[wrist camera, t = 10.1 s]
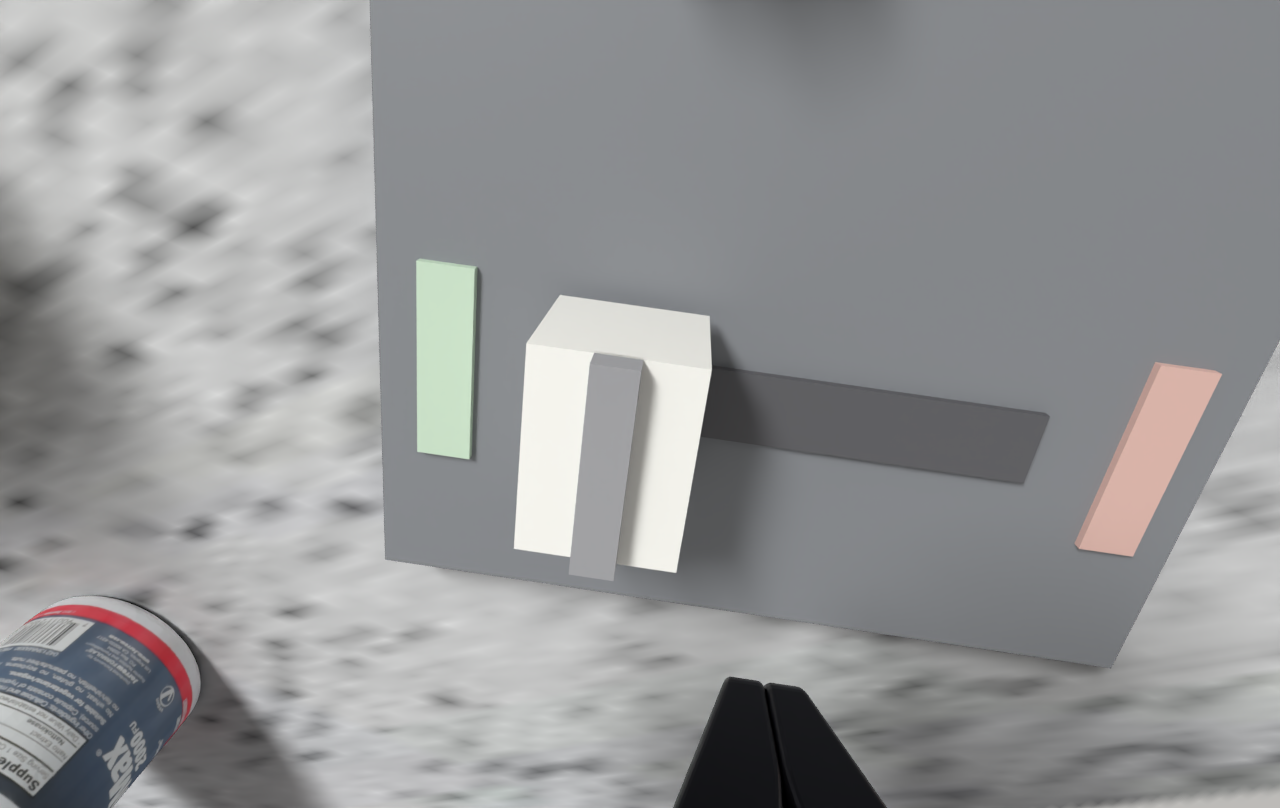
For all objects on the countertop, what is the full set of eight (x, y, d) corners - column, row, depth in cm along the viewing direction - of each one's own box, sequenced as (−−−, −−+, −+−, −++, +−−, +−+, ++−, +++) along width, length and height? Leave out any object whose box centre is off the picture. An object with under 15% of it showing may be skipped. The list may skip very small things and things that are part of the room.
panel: (1728, -731, 9) (1931, -895, 8) (1081, 626, 19) (1115, 674, 17) (391, -874, 10) (332, -1055, 8) (408, 525, 19) (381, 564, 18)
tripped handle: (709, 316, 14) (712, 381, 11) (680, 489, 16) (675, 590, 13) (560, 294, 14) (519, 353, 11) (546, 469, 16) (506, 564, 13)
